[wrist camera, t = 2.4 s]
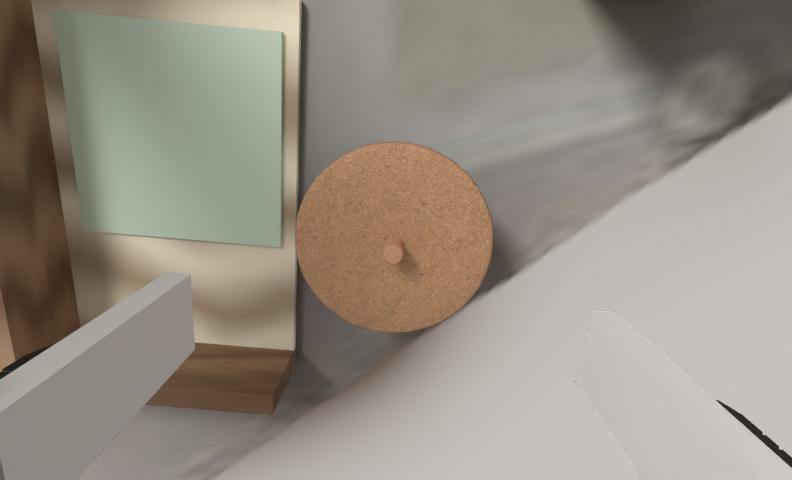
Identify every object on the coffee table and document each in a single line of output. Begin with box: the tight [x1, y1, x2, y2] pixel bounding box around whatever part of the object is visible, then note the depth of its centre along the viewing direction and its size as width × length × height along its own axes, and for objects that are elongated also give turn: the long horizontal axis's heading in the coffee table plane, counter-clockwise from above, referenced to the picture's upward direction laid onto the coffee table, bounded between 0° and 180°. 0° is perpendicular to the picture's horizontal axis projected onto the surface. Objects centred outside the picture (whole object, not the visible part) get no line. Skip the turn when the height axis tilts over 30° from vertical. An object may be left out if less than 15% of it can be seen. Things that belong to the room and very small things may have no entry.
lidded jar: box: [295, 142, 493, 333], centre depth 25 cm, size 11×11×9 cm
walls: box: [0, 0, 296, 415], centre depth 26 cm, size 26×18×6 cm
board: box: [31, 0, 302, 355], centre depth 29 cm, size 26×18×1 cm
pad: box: [53, 10, 283, 247], centre depth 27 cm, size 14×14×1 cm
